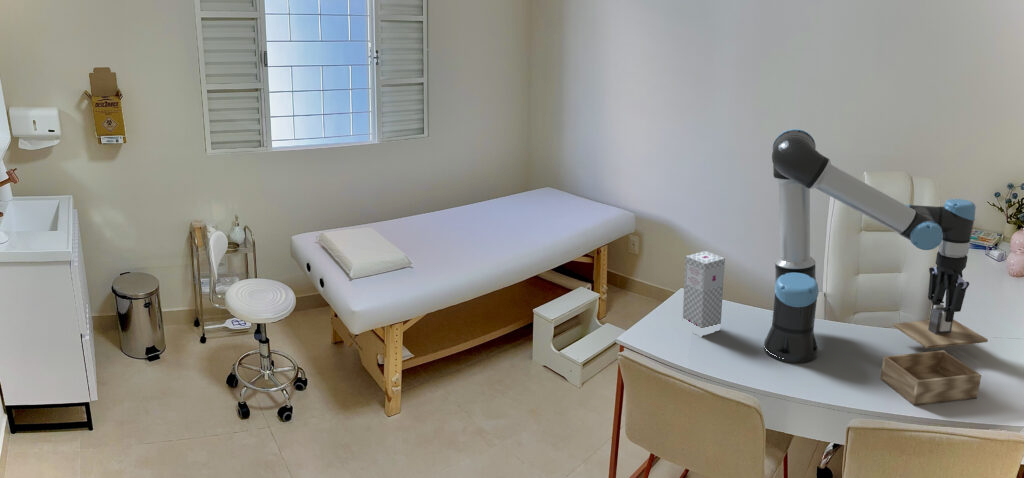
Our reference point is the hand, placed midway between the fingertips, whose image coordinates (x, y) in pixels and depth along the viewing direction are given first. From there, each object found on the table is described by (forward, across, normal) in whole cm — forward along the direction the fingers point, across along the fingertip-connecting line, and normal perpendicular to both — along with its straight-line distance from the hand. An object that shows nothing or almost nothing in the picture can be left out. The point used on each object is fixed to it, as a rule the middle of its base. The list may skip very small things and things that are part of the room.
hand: (939, 327), depth 211 cm
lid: (+2, 0, 0) cm, 2 cm away
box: (+7, +28, +62) cm, 69 cm away
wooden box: (+7, -19, +17) cm, 27 cm away
